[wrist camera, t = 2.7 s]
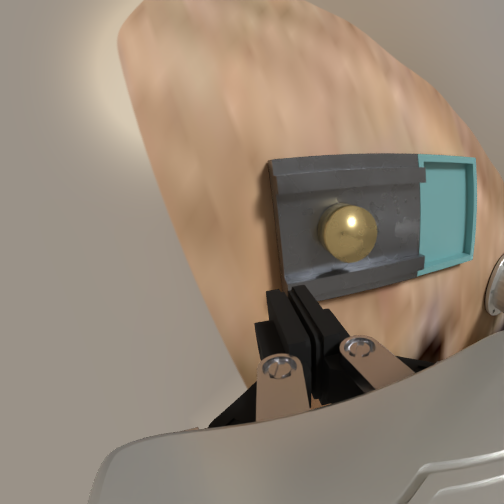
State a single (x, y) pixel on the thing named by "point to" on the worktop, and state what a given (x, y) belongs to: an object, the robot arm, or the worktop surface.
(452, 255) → the tray
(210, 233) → the worktop surface
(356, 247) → the brass puck
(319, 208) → the slot plate
